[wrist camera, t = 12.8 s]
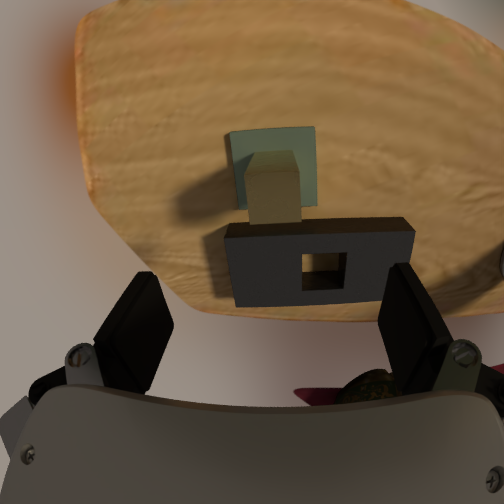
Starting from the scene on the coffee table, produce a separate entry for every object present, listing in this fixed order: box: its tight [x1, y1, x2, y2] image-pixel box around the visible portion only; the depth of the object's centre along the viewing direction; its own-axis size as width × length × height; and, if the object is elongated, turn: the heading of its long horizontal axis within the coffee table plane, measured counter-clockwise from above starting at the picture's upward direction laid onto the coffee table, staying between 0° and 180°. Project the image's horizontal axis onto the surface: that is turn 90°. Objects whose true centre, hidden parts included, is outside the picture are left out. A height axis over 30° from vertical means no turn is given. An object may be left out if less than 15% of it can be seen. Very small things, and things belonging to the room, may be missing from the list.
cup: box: [334, 369, 402, 405], centre depth 45 cm, size 13×20×10 cm, turn 126°
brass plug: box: [244, 150, 302, 225], centre depth 24 cm, size 4×4×10 cm
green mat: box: [230, 127, 317, 210], centre depth 29 cm, size 9×9×1 cm
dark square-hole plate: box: [224, 217, 416, 307], centre depth 33 cm, size 22×10×4 cm, turn 96°
